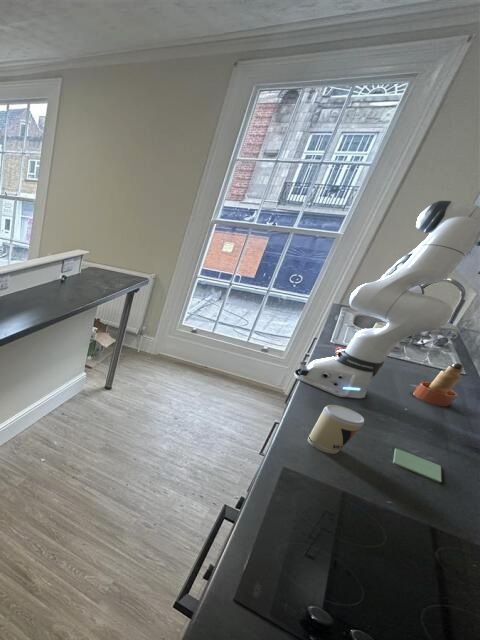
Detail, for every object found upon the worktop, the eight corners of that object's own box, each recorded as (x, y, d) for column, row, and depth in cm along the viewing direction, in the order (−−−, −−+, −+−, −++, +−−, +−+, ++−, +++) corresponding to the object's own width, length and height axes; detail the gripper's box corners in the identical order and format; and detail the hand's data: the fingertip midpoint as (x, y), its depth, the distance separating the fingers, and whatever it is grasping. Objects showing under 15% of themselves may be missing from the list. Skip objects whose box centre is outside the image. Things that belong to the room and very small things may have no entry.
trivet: (392, 463, 116) (394, 462, 116) (394, 449, 122) (395, 448, 122) (440, 483, 110) (441, 481, 110) (439, 466, 117) (440, 465, 116)
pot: (411, 398, 152) (420, 387, 149) (412, 389, 158) (420, 379, 155) (448, 410, 146) (458, 399, 143) (447, 401, 152) (457, 390, 150)
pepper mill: (421, 397, 152) (449, 363, 144) (421, 393, 155) (449, 359, 147) (440, 403, 148) (470, 368, 141) (440, 399, 152) (469, 364, 144)
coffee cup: (332, 459, 116) (356, 426, 110) (298, 439, 123) (319, 407, 116) (347, 450, 120) (372, 418, 113) (313, 432, 127) (334, 401, 120)
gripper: (389, 311, 162) (417, 324, 150) (443, 317, 160) (476, 330, 149) (379, 325, 165) (406, 339, 153) (432, 331, 164) (463, 346, 152)
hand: (441, 335), depth 151 cm, fingers open, 8 cm apart
